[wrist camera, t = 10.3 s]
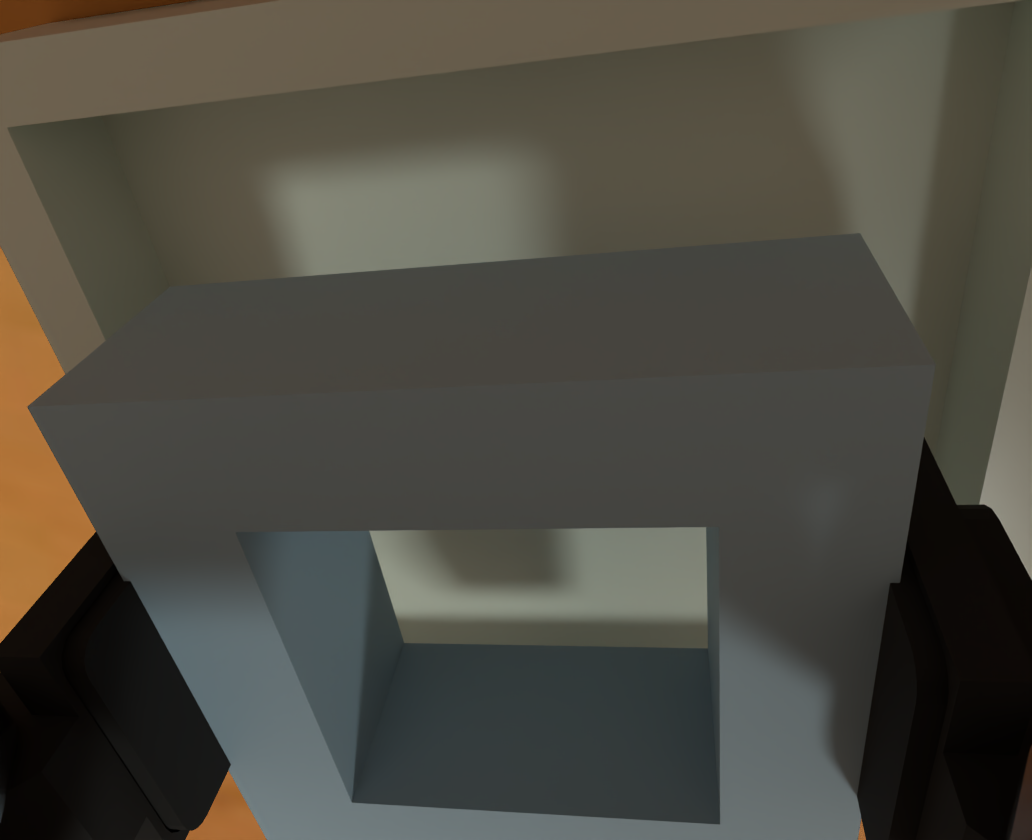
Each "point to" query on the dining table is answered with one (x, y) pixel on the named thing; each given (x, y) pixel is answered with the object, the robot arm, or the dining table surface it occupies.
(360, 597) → the blue-grey rectangular frame
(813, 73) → the tray
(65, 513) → the dining table surface
